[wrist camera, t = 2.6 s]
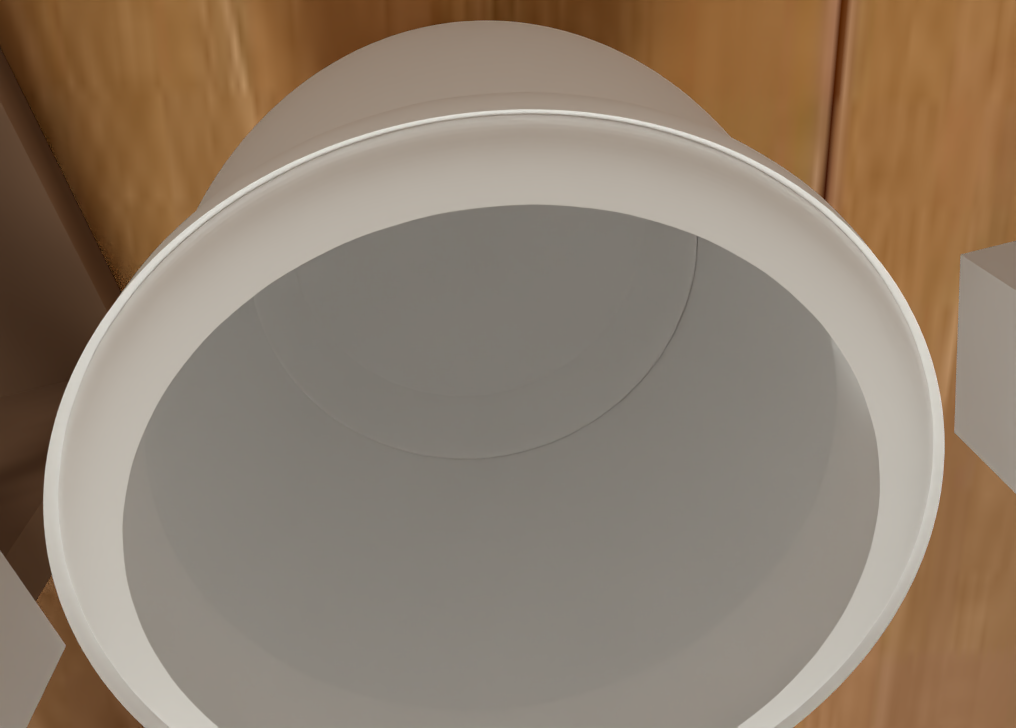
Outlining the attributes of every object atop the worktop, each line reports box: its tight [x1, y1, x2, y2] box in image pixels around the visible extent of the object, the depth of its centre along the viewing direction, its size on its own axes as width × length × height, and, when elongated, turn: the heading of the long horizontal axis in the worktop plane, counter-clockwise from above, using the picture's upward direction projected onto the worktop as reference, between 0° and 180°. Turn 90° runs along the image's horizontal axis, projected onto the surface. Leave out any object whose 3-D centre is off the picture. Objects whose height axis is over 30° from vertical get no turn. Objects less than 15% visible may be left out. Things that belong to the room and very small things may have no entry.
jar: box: [43, 20, 944, 728], centre depth 16 cm, size 11×10×15 cm
